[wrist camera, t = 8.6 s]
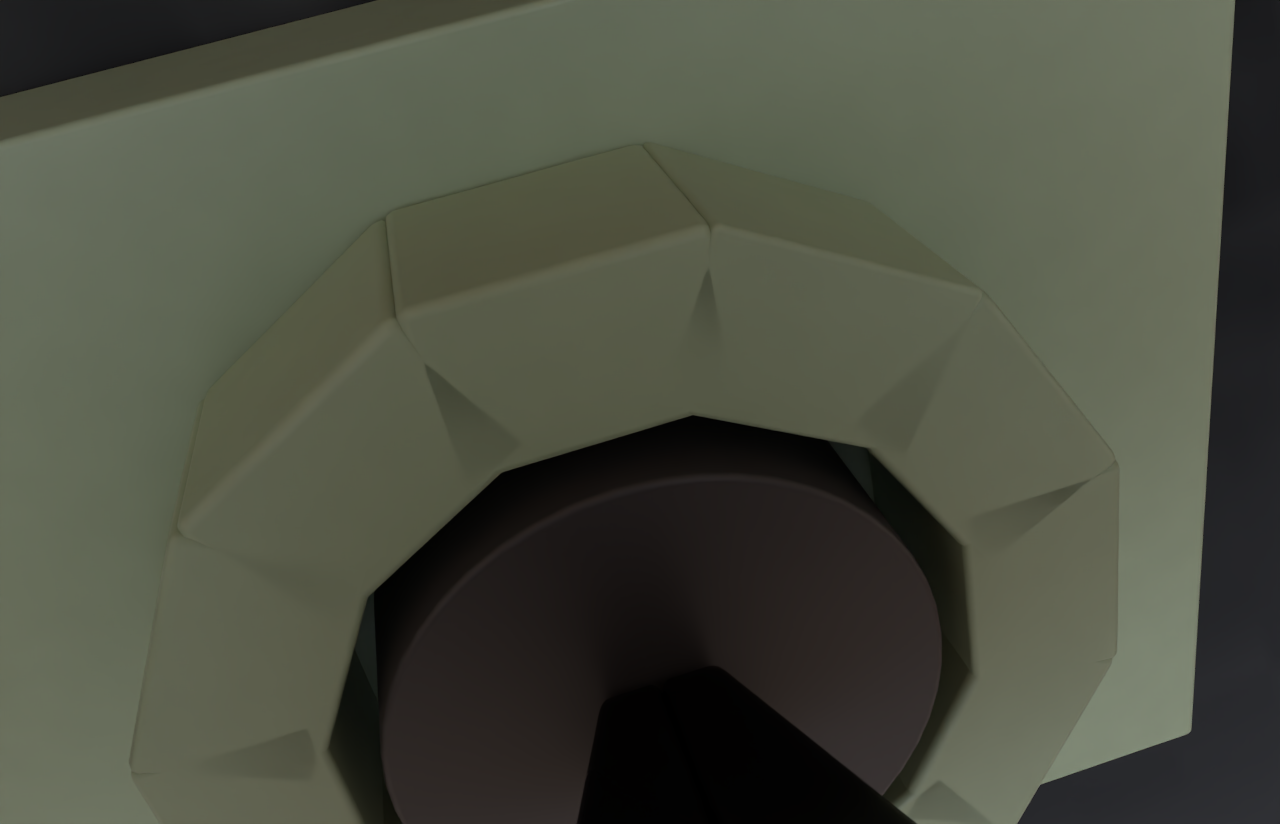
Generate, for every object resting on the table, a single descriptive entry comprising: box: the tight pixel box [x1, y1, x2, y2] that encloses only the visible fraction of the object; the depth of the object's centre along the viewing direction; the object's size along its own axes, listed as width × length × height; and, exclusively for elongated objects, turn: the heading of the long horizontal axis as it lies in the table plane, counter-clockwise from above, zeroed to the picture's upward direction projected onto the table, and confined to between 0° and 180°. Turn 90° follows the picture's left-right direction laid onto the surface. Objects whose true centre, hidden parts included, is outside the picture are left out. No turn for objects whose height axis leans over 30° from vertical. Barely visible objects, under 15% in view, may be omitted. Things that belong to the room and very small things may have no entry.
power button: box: [374, 415, 942, 824], centre depth 9 cm, size 4×4×2 cm
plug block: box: [0, 0, 1235, 824], centre depth 10 cm, size 11×9×4 cm
